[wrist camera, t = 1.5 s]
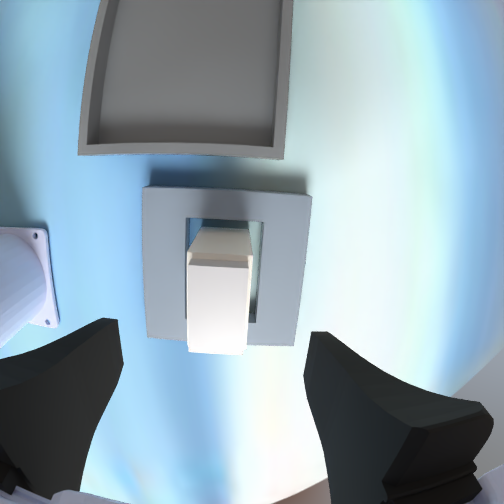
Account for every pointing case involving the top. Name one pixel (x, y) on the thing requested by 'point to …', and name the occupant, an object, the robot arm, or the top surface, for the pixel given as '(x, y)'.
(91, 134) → the parts tray
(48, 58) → the top surface
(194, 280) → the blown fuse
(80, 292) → the top surface
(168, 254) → the grey flat square frame
